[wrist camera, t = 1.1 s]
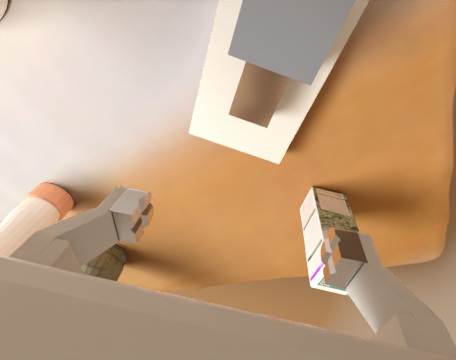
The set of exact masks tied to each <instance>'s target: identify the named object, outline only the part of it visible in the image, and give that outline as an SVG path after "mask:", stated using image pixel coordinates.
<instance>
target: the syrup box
mask: <svg viewBox="0 0 456 360" xmlns="http://www.w3.org/2000/svg"><path fill="white" fill-rule="evenodd" d="M300 215H301V220H302V227H303V234H304V241H305V249H306V257H307V265H308V273H309V279H310V285H311V287H313V288H317V289H322V290H326V291H331V292H335V293H339V294H345V295H348V296H349V294H348V293H347V291H346V290H345V288H341V287H336V286H332V285H328V284H325V281H324V275H323V268H324V266H325V265H324V263H323V262H322V261H321V246H322V243H323V241H324V240H325V239H327V238H328V231H329V229H330V228H331V227H334V228H339V229H344V230H350V231H355V232H359V230H358V227H357V224H356V222H355V219H354V216H353V214H352V211H351V208H350V206H349V203H348V200H347V197H346V195H345V194H343V193H338V192H334V191H329V190H325V189H321V188H317V187H312V188H311V190H310V191H309V193H308V195H307V197H306V199H305V200H304V202H303V204H302V206H301V208H300Z"/></svg>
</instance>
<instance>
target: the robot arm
mask: <svg viewBox="0 0 456 360" xmlns="http://www.w3.org/2000/svg"><path fill="white" fill-rule="evenodd" d="M7 4H8V0H0V19H1V18H2V16H3V15H4V13H5V11H6V8H7ZM151 199H152V197H151V193H150V192H147V191H142V190H137V189H133V188H127V187H123V186H117V187H115V188H114V189H113V190H112V192H111V193H110V194H109V195H108V196H107V197H106V198H105V199H104V200H103V201H102V203H101V204H100V205H99V206H98V207H97V208H92V209H89V210H87V211H84V212H82V213H80V214H77V215H75V216H73V217H70V218H68V219H66V220H63V221H61V222H58V223H56V224H54V225H51V226H49V227H47V228H44V229H42V230H39V231H37V232H35V233H34V234H33V235H31V236H30V237H29V238H28V239H27V240H26V241H25V242H24V243H23V244H22V245H21V246H20V247H19V248H17V249H16V250H15V251H14V252H13V253H12V254H11V255H10V256H9V257H7V256H3V255H0V360H456V346H455V344H454V342H453V340H452V338H451V336H450V334H449V332H448V330H447V328H446V326H445V324H444V322H443V321H442V320H441V319H440V318H439V317H438V316H437V315H436V314H435V313H434V312H433V311H432V310H431V309H430V308H429V307H428V306H427V305H425V304H424V303H423V302H422V301H421V300H420V299H419V298H418V297H417V296H416V295H415V294H414V293H413V292H412V291H411V290H410V289H409V288H408V287H406V286H405V285H404V284H403V283H402V282H401V281H400V280H399V279H398V278H397V277H396V276H395V275H394V274H393V273H392V272H391V271H390V270H388V269H387V268H386V267H383V266H382V264H381V261H380V259H379V256H378V254H377V251H376V249H375V246H374V244H373V241H372V239H371V236H370V235H369V234H367V233H361V232H355V231H350V230H344V229H339V228H334V227H331V228H330V229H329V231H328V238H327V239H325V240H324V241H323V243H322V246H321V261H322V262H323V263H324V265H325V266H324V268H323V275H324V281H325V284H328V285H332V286H336V287H341V288H345V290H346V291H347V293H348V294H349V296H350V297H351V298H352V300H353V301H354V303H355V304H356V306H357V307H358V309H359V310H360V312H361V313H362V314H363V316H364V317H365V319H366V320H367V322H368V323H369V324H370V326H371V327H372V329H373V330H374V332H375V334H374V335H373V336H372V337H371V338H370V339H369V338H365V337H360V336H356V335H351V334H347V333H342V332H338V331H334V330H329V329H325V328H320V327H316V326H311V325H307V324H303V323H298V322H294V321H289V320H285V319H281V318H276V317H272V316H268V315H263V314H258V313H254V312H250V311H245V310H241V309H237V308H232V307H228V306H223V305H219V304H214V303H209V302H205V301H201V300H197V299H192V298H188V297H183V296H179V295H175V294H170V293H165V292H162V291H157V290H153V289H148V288H144V287H139V286H135V285H131V284H126V283H122V282H117V281H113V280H109V279H104V278H100V277H95V276H91V275H87V274H84V273H83V271H82V269H81V267H82V266H83V265H85V264H86V263H88V262H89V261H91V260H92V259H94V258H95V257H97V256H98V255H100V254H101V253H103V252H104V251H106V250H107V249H109V248H110V247H112V246H113V245H115V244H116V243H118V242H119V241H124V242H129V243H135V244H137V243H138V241H139V240H140V238H141V236H142V235H143V233H144V231H143V228H144V227H146V226H148V225H149V223H150V221H151V218H152V215H153V206H152V205H151V203H150V201H151Z"/></svg>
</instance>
